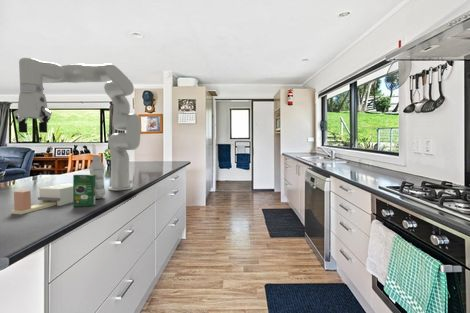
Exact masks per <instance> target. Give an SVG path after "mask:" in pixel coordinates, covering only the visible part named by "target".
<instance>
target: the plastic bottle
mask: <svg viewBox="0 0 470 313" xmlns="http://www.w3.org/2000/svg"><path fill="white" fill-rule="evenodd" d="M91 160H92V161H91V163H90V165H89V168H88V169H89V175H95V200H99V199H104V198H105V195H106V189H105V184H104V183H105V182H104V178H105V176H104V175H105V167H106V166H105V165H104V163H103V162H102V161H101V160H102V156H101V155H92V157H91Z"/></svg>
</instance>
